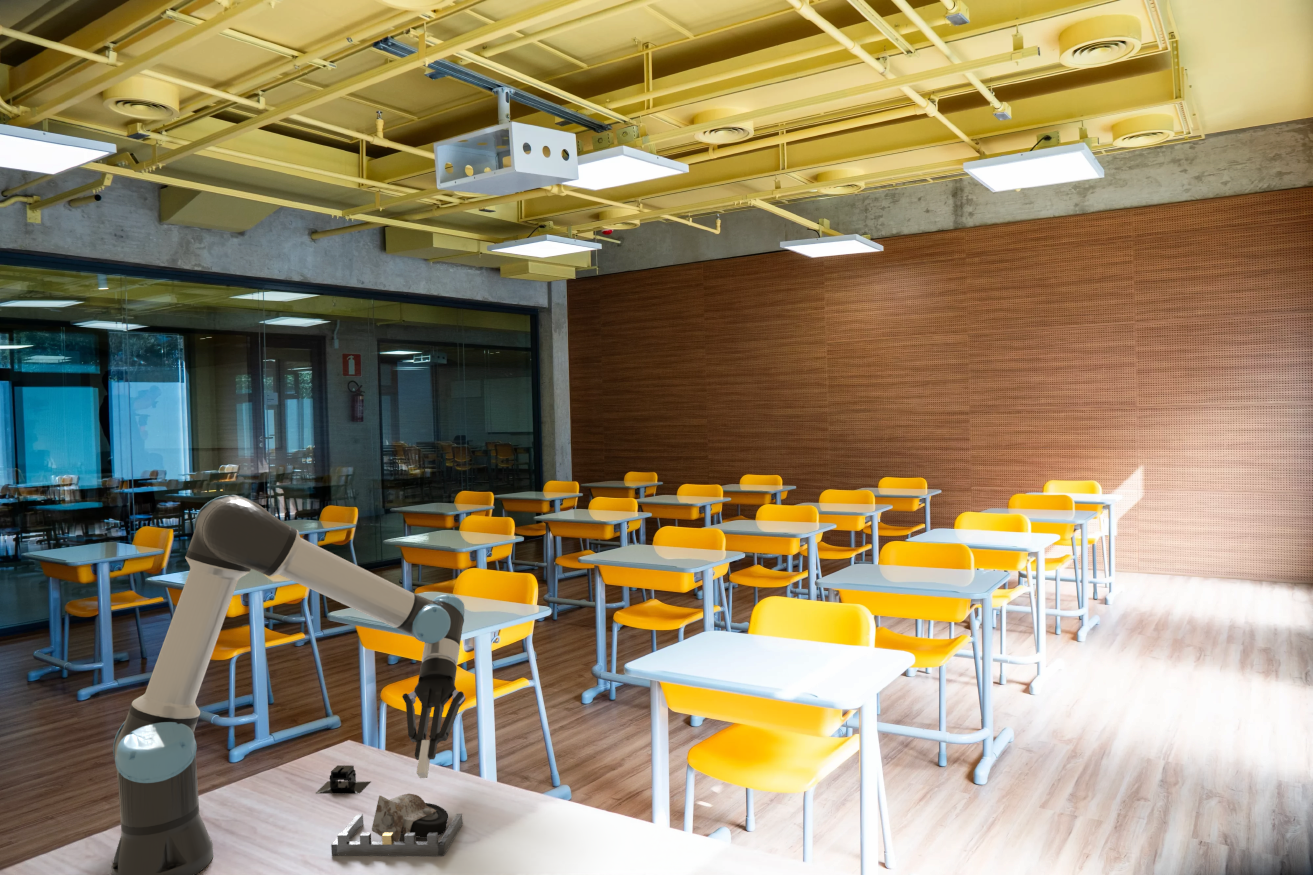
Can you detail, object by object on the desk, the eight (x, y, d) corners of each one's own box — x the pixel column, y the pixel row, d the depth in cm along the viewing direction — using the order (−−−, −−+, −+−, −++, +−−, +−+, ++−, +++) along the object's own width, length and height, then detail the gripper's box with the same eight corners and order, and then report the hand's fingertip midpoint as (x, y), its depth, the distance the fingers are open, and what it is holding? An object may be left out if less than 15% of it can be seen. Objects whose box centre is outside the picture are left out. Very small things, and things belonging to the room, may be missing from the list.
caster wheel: (452, 839, 157) (414, 857, 148) (408, 814, 162) (368, 831, 153) (460, 804, 157) (423, 820, 148) (415, 780, 162) (377, 795, 153)
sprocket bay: (331, 855, 148) (330, 835, 148) (358, 823, 159) (357, 805, 159) (443, 855, 147) (442, 835, 146) (462, 823, 158) (461, 804, 157)
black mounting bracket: (306, 797, 172) (304, 775, 172) (323, 781, 179) (322, 760, 179) (365, 797, 171) (363, 775, 171) (380, 781, 178) (378, 760, 178)
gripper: (472, 671, 184) (459, 781, 168) (412, 673, 184) (393, 783, 168) (466, 654, 178) (451, 766, 163) (404, 656, 178) (383, 769, 162)
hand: (422, 775), depth 165 cm, fingers closed
